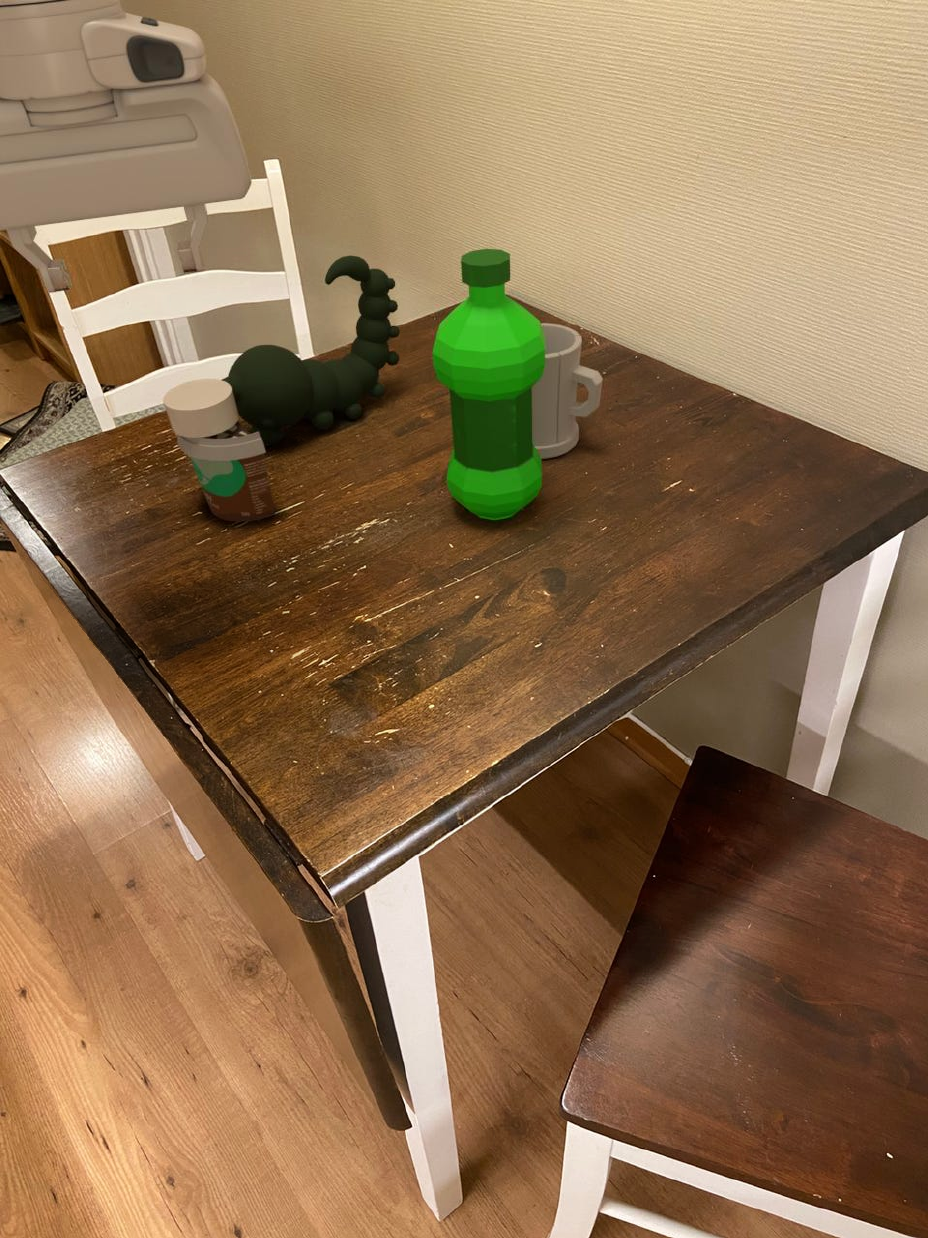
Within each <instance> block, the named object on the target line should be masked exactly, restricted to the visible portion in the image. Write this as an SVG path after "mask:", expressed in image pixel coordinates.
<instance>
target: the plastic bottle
mask: <svg viewBox="0 0 928 1238" xmlns="http://www.w3.org/2000/svg"><path fill="white" fill-rule="evenodd" d="M460 268H461V269H460V270H461V283H463V284H465V285H467V286H468V297H467V298H465V299H464V300H463V301H462V302H461V303H459V305H458V306H456V307H455V308H454V309H453V310H452V311H451V312H450V313H449V314H448V315H447V316H446V317H445V318H444V319H442V321H441V322H440V323H439V325H438V327H437V331H436V335H435V339H434V344H433V348H432V352H431V353H432V364H433V365H432V366H433V369H434V372H435V375H436V378H437V380H438V381H439V382H440V383H441V384H442V385H444V386H445V387H446V388H447V389H448V390H449V400H450V401H449V403H450V414H451V427H452V441H453V450H452V452H451V455H450V457H449V459H448V460H449V461H448V466H447V473H446V483H447V485H446V487H447V490H448V491H449V493H450V495H451V496H452V498H453V499H455V500H456V501H457V502H458V503H459V504H461V505H462V506H463V507H464V508H466V509H467V510H468V511H469V512H470V513H471V514H474V515H476V516H477V517H479V519H487V520H491V521H499V520H504V519H509V518H512V517H513V516H514V515H516V514H517V513H518V512H520V511H521V510H522V509H523V508H525V507H526V506H528V505H529V504H530V503H532V501H534V500H535V499H536V498H537V497H538V495H539V493H540V491H541V489H542V486H543V475H542V474H543V471H542V470H543V469H542V467H543V463H542V461H543V459H541V457H540V455H539V453H538V451H537V449H536V448H535V446H534V445H533V443H532V386H533V385H534V384H535V383H536V382H537V381H538V380H539V379H540V378H541V377H542V375H543V371H544V366H545V333H544V331H543V328H542V326H541V321H540V320H539V319H538V318H537V317H536V316H534V315H533V314H532V313H531V312H529V310H527V309H526V308H525V307H523V306H522V305H521V304H519V303H518V302H517V301H515V300H514V299H512V298H511V297H509V296H508V295H506V285H505V284H506V283H508V282H510V281H511V253H510V252H507V251H505V250H503V249H496V248H483V249H475V250H471V251H468V252H466V253H464V254H462V255H461V259H460Z"/></svg>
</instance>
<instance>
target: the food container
mask: <svg viewBox="0 0 928 1238" xmlns="http://www.w3.org/2000/svg"><path fill="white" fill-rule="evenodd" d="M176 441H177V442H176V443H177V446H178V448H179V449H180V450H181V451H182V452H183V453H184V454H185V455H188V456H189V458H190V461H191V464H192V467H193V469H194V471H195V474H196V477H197V480H198V482H199V485H200V487H201V490H202V493H203V495H204V498H205V499H206V503H207V506H208V507H209V510H210V512H211V513H212V514H213V515H214V516H215V517H217V518H219V519H221V520H226V521H230V522H253V521H257V520H263V519H266V518H269V517H272V516H274V515H276V511H275V505H274V501H273V500H274V499H273V494H272V490H271V485H270V479H269V475H268V469H267V465H266V459H265V453H267V451H266V449H265V444H263V441H262V439H261V438H260V434H259V432H256V433H252V432H250V431H248V430H247V428H245V426H243V424H242V423H240V422H239V420H238V421H237V422H236V424H235V425H234V426H232V427H231V428H230V429H228V430H226V431H224V432H222V433H219V434H216V435H213V436H208V437H202V438H187V437H182V436H179V435H177V434H176Z"/></svg>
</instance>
